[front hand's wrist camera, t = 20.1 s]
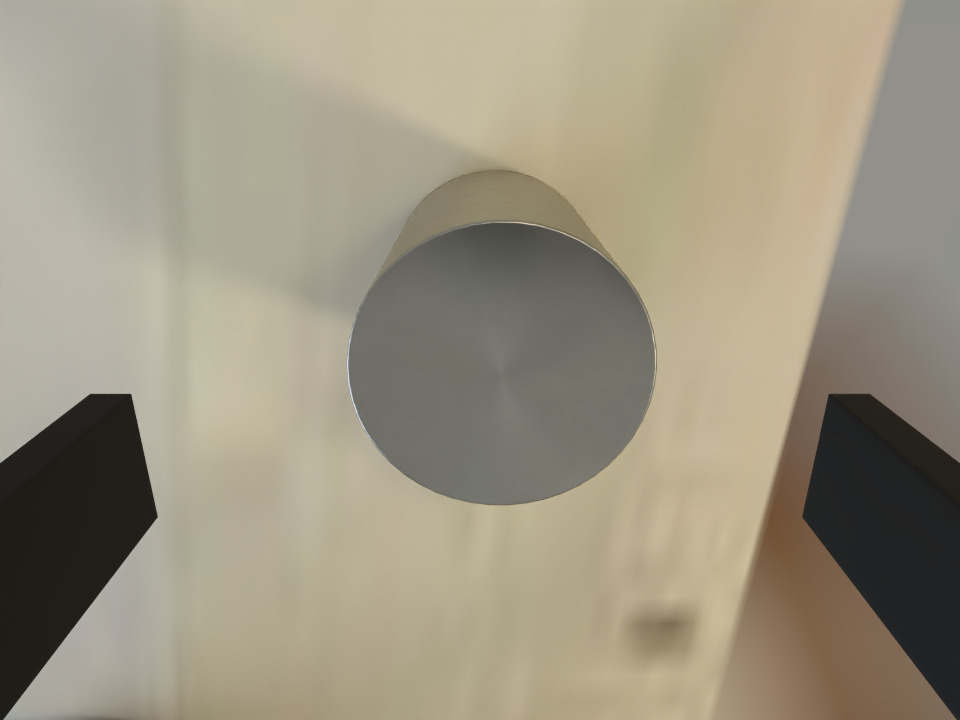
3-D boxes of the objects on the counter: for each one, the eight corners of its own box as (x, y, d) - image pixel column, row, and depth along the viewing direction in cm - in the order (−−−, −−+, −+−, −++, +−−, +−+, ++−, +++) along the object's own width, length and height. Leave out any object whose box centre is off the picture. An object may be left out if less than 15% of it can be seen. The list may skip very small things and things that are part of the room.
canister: (418, 378, 28) (387, 525, 19) (373, 191, 25) (309, 253, 16) (604, 347, 28) (668, 482, 18) (580, 152, 25) (642, 191, 15)
